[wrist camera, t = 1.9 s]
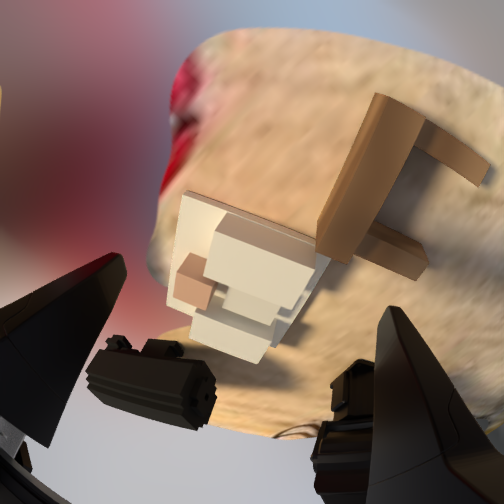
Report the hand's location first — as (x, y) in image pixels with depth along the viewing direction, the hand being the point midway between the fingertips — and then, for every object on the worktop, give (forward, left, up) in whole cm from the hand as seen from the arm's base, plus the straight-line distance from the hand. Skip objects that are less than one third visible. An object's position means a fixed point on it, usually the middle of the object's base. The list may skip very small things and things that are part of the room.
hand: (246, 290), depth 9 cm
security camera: (+7, +27, -13) cm, 31 cm away
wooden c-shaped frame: (+1, +11, -12) cm, 16 cm away
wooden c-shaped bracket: (-7, -2, -12) cm, 14 cm away
